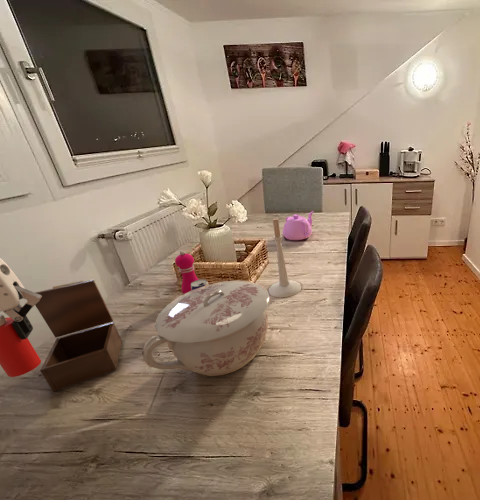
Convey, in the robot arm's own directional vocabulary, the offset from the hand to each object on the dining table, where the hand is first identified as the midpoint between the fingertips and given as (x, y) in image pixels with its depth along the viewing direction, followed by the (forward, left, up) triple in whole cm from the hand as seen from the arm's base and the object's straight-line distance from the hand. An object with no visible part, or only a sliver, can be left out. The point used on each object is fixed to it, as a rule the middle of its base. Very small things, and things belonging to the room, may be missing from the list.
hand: (6, 339), depth 55 cm
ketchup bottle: (0, 0, -7) cm, 7 cm away
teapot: (+70, +100, -22) cm, 124 cm away
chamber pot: (+36, +8, -22) cm, 43 cm away
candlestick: (+55, +39, -22) cm, 71 cm away
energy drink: (+27, +33, -22) cm, 48 cm away
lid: (-2, +22, -7) cm, 23 cm away
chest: (0, +16, -22) cm, 27 cm away
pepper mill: (+21, +45, -22) cm, 54 cm away
